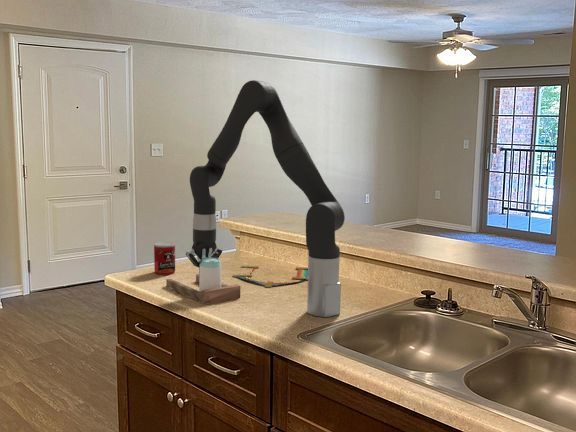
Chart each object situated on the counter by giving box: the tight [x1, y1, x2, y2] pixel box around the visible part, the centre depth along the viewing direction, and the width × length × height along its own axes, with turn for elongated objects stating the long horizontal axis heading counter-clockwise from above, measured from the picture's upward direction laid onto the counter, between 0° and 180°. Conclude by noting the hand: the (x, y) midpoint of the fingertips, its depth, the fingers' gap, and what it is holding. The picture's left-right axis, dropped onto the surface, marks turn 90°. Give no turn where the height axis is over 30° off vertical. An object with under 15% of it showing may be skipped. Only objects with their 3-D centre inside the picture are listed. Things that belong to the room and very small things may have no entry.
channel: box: [165, 273, 241, 305], centre depth 204 cm, size 26×13×4 cm, turn 38°
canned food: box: [153, 241, 176, 276], centre depth 229 cm, size 8×8×11 cm
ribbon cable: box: [232, 265, 308, 289], centre depth 226 cm, size 29×1×30 cm
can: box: [198, 258, 223, 292], centre depth 199 cm, size 7×7×12 cm
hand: (204, 278), depth 203 cm, fingers closed
